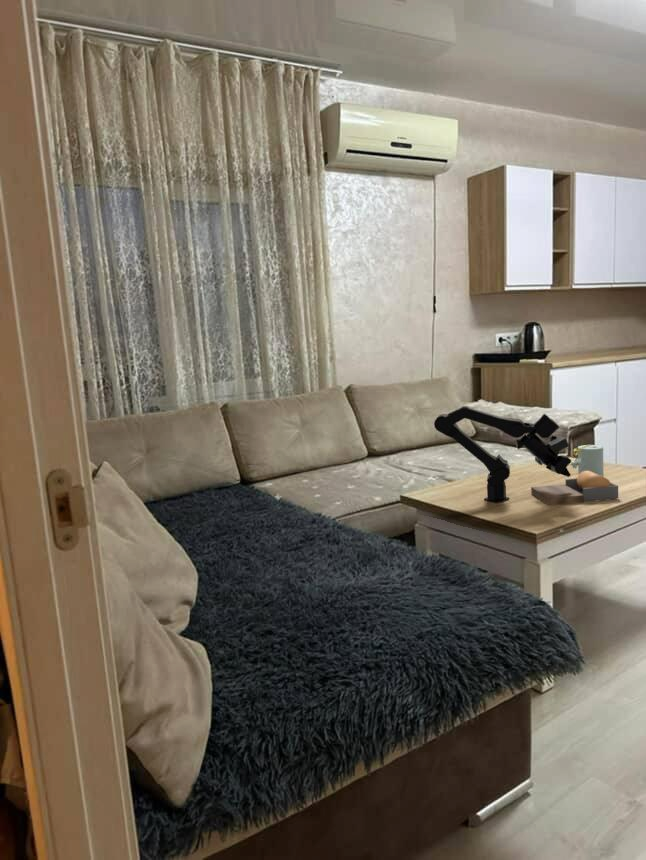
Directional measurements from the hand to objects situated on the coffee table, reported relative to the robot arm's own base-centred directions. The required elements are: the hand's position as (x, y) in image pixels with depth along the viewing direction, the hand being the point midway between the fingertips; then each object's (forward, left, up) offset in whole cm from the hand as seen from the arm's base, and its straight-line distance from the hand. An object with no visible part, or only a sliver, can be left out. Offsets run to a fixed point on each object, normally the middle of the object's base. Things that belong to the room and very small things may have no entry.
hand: (569, 475), depth 213 cm
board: (-4, +3, -8) cm, 9 cm away
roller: (+7, -5, -4) cm, 9 cm away
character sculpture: (+24, +7, -8) cm, 26 cm away
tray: (+6, -4, -8) cm, 11 cm away
